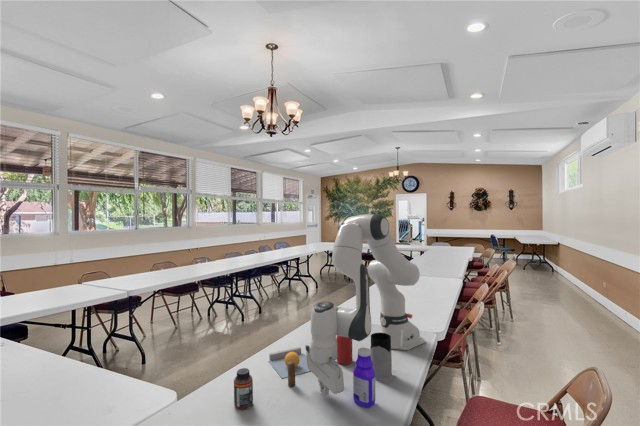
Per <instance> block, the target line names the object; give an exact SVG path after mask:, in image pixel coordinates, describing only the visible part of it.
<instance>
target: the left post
mask: <svg viewBox="0 0 640 426" xmlns="http://www.w3.org/2000/svg"><path fill="white" fill-rule="evenodd" d="M295 386H296V375H295V362H293V361H291V362H288V377H287V387H288V388H294V387H295Z"/></svg>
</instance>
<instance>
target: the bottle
mask: <svg viewBox="0 0 640 426" xmlns="http://www.w3.org/2000/svg"><path fill="white" fill-rule="evenodd" d="M372 366H373V362H372V360H371V354H370V348H367V347H360V348H358V349H357V359H356V361H355V367H354V369H353V372H352V373H353V377H352V383H353V386H352V393H353V395H352V397H353V401H354V403H355V404H356V405H358V406H360V407H362V408H365V409H369V408H371V407H373V406H374V404H375V403H376V380H375V371H374V369H373V367H372Z"/></svg>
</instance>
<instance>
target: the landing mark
mask: <svg viewBox="0 0 640 426" xmlns="http://www.w3.org/2000/svg"><path fill="white" fill-rule="evenodd" d="M298 355H299V358H300V361H299V364H298V366H296V367H295V376H298V375H302V374H306V373H310V372H311V371H310V370H309V369H308V366H307V358H306V353H304V352H303V353H302V352H301V354H298ZM267 362H268V363H269V365H271V367H272V368H273V369H274V371H275V372H276V373H277V374H278V376H279V377H280V378H281V379H282V380H283V379H286V378H287V379H288V367H287V366H286V364H285V358H280V359H276V360H272V361H270V360H268V361H267Z"/></svg>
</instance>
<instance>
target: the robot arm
mask: <svg viewBox="0 0 640 426" xmlns="http://www.w3.org/2000/svg"><path fill="white" fill-rule="evenodd" d="M334 240H335V241H334V244H333V250H332V253H331V255H332V256H331V261H332V265H333V267H334V268H335V269H336V270H337V271H338V272H340V273H341V274H343V275H344V276H346V277H348V278H349V279H351V280H353V282H354V284H355V308H347V307H342V306H337V305H335V304H334V303H333V302H331V301H319V302H317V303H316V304H313V306H312V310H311V313H310V314H311V316H310V333H311V340H310V343H306V344H305V346H304V347H305V348H304V349H305V351H306V353H305V355H306V358H307V366H308V369H309V370H310V372H311V373H312V374H313V375H314V376H315V377H316V378H317V380H318V381H317V382H318V385H319V391H320V393H321V394H322V395H323V396H324V397H327V396H329V395H330V392H331V393H332V394H333V395H337V394H341V393H343V392H344V390H345V381H344V371H343V369H342V367H341V365H339V364H340V363H338V362H337V340H336V337H337V336H342V337H347V338H350V339H352V341H353V340H355V341H357V342H362V341H363V340H365V339H366V338H368V337H369V336H371V332H372V318H371V317H372V315H371V304H370V298H371V297H370V279H371V280H372V281H373V283H375V285H376V288H377V290H378V293H379V297H380V309H381V310H380V316H379V317H380V318H379V319H380V331H379V333H384V332H386V334H389V335H390V336H391V350H392V349H393V350H402V351H409V350H411V349H414V348H416V347H419V346H421V345H423V344H425V343H426V340H425V338H424V337H422V336H421V333H420V330H419V328H418V327H417V326H416V325H415V324H414V323H413V322H411V321H410V320H409V319H413V314H411V313H410V312H408V313H406V298H405V295H404V294H403V293H402V292H401V291H400V290H399V289H398V288H397V286H402V287H410V286H416V284H417V283H418V282H419V280H420V276H421V274H420V270H419V267H418V265H416V264H415V263H413V262H411V261H410V260H408V259H407V258H406V257H405V256H404V255H403V254H402V253H401V251H400V250H399V249H398V247H397V246H396V243H395V242H394V239H393V236H392V233H391V231H390V223H389V220H388V219H387V217H386V216H384V215H383V214H379V213H378V214H377V213H375V214H371V213H370V214H366V213H365V214H359V215H358V214H357V215H353V216H346V217H343V218H342V219H341V220H340V221H339V223H338V225H337V234H336V237H335V239H334ZM364 242H367V245H368V247H369V249H370V252H371V254H372V257H373V258H374V259H372V260H371V261H370V262H369V264H368V266H366V265H365V264H364V263H363V258H362V256H363V255H362V253H363V246H364V245H363V244H364ZM369 278H370V279H369ZM396 285H397V286H396Z"/></svg>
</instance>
